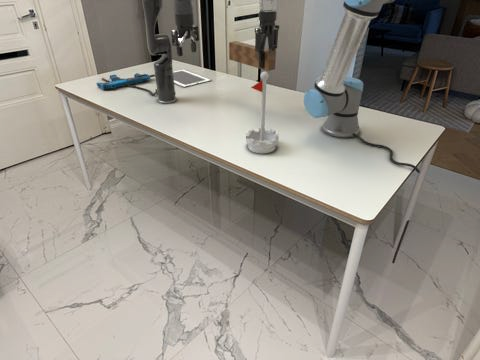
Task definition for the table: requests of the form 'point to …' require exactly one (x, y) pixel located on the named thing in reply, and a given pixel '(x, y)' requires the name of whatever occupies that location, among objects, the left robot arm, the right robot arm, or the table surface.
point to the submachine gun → (124, 81)
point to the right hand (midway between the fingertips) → (265, 66)
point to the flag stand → (262, 125)
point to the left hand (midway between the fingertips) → (187, 53)
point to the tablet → (187, 78)
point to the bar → (251, 55)
